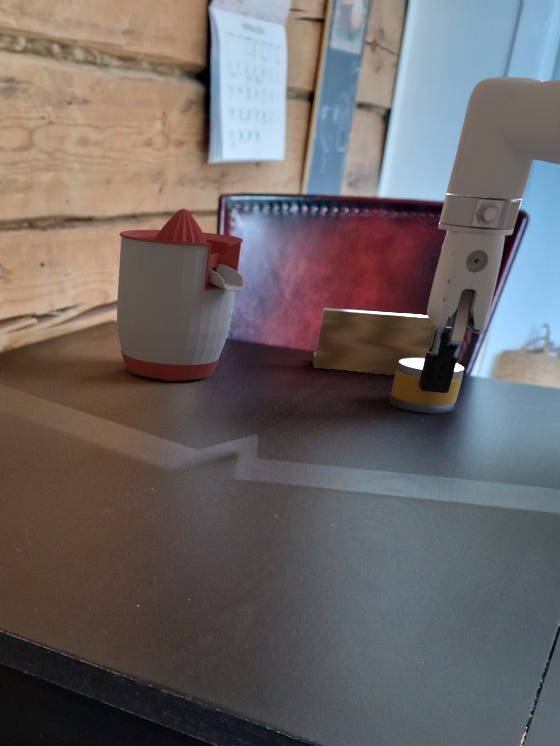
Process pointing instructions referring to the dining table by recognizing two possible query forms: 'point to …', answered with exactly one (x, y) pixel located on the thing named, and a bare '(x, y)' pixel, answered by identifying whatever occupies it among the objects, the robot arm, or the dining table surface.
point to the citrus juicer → (176, 298)
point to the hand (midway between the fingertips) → (432, 390)
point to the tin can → (416, 400)
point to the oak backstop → (370, 340)
